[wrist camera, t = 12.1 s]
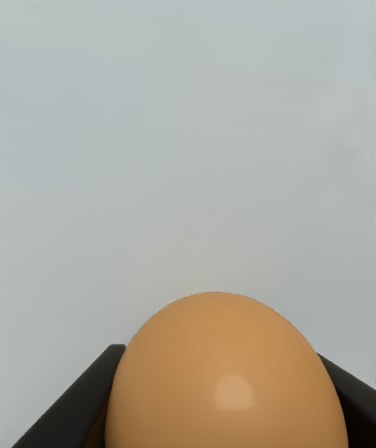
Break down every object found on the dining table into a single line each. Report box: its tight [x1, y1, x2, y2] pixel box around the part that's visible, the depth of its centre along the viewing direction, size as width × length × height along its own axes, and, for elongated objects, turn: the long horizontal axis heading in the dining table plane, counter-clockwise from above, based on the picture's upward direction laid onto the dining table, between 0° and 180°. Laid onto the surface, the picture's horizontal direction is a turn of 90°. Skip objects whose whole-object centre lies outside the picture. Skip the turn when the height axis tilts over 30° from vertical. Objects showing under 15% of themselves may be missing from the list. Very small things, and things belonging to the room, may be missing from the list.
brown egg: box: [104, 292, 349, 448], centre depth 6 cm, size 5×5×5 cm
